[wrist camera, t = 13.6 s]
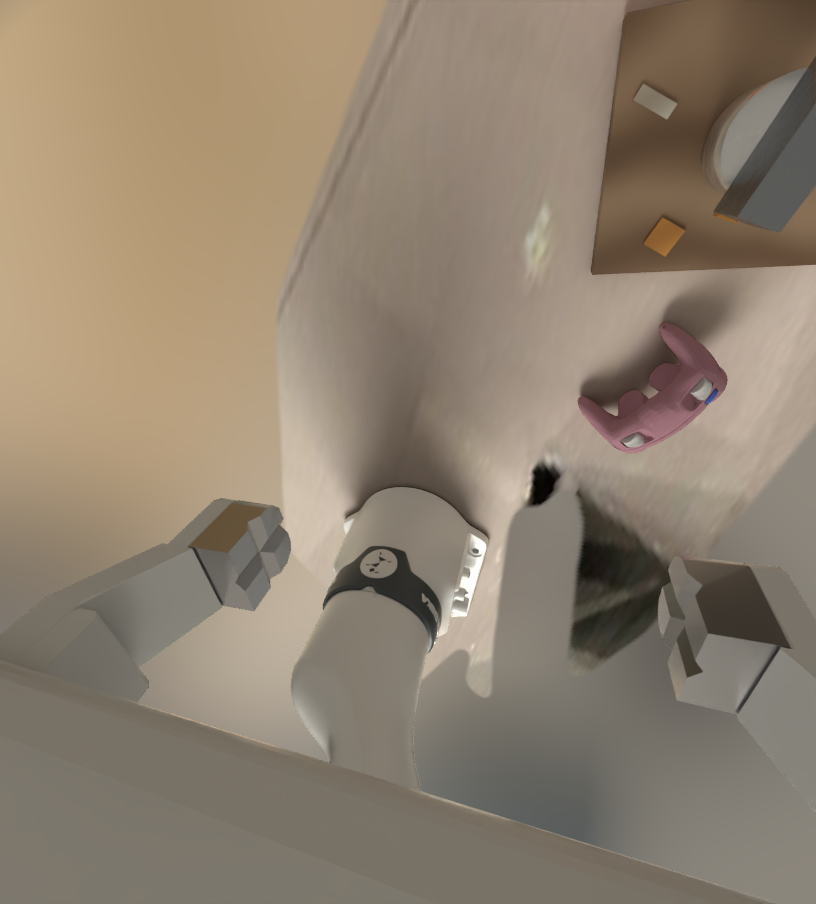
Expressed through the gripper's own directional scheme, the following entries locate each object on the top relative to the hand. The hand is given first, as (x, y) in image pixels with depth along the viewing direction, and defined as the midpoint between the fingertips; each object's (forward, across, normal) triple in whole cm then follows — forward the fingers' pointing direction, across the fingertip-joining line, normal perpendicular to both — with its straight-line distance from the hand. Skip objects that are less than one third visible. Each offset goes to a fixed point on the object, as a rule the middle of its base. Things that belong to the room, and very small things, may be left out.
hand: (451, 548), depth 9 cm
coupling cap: (+26, -12, -7) cm, 29 cm away
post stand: (+31, -12, -7) cm, 34 cm away
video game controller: (+31, -10, +9) cm, 34 cm away
